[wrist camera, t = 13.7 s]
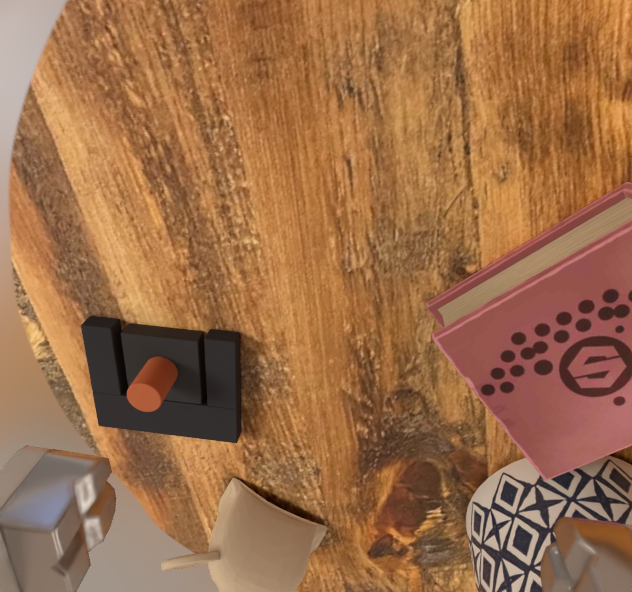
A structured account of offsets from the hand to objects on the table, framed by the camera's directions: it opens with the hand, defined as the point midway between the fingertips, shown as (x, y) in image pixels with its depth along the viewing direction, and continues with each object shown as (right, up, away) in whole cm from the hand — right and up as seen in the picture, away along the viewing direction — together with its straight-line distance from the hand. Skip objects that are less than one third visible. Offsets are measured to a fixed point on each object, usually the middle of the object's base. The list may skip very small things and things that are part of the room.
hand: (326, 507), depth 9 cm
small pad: (-12, -1, +32) cm, 34 cm away
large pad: (-12, -3, +33) cm, 35 cm away
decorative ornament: (0, -18, +40) cm, 44 cm away
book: (+18, +2, +27) cm, 32 cm away
